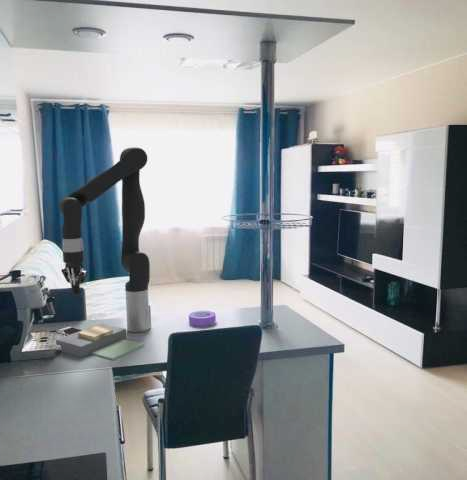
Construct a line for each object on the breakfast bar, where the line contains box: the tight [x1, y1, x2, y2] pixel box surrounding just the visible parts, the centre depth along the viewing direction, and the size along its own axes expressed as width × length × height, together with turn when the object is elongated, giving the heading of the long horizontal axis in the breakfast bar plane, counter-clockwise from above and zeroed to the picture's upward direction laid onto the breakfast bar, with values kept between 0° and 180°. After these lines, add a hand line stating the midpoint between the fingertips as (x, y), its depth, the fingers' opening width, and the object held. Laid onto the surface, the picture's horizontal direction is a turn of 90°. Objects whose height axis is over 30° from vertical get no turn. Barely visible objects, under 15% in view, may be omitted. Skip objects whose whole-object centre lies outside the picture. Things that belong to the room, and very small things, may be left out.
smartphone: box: [59, 326, 83, 336], centre depth 193 cm, size 7×16×1 cm, turn 55°
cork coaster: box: [78, 325, 113, 341], centre depth 178 cm, size 9×9×2 cm
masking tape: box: [188, 310, 217, 328], centre depth 205 cm, size 12×12×4 cm
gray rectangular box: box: [55, 322, 127, 358], centre depth 180 cm, size 22×14×4 cm, turn 148°
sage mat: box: [91, 338, 146, 361], centre depth 174 cm, size 16×11×1 cm
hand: (75, 293), depth 182 cm, fingers closed
